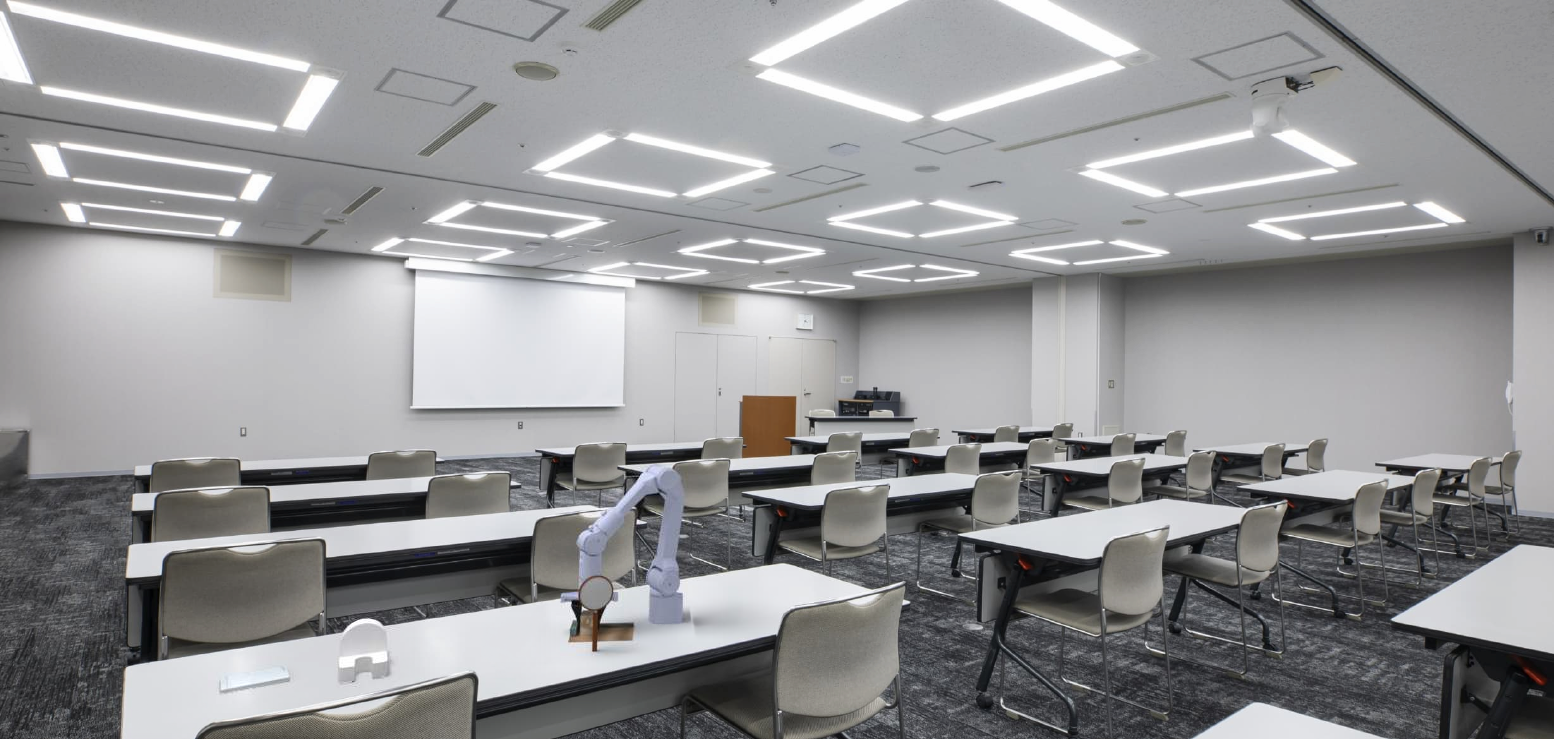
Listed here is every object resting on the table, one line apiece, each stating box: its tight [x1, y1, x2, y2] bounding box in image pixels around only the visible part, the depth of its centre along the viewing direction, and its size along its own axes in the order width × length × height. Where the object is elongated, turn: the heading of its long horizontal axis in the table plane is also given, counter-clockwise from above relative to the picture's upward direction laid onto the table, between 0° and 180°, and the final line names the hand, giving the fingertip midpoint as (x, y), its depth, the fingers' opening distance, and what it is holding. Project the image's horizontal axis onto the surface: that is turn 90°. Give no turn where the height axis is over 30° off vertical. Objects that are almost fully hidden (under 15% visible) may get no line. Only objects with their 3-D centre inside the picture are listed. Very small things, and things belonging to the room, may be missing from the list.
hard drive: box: [219, 665, 291, 694], centre depth 169 cm, size 2×8×12 cm
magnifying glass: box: [577, 574, 614, 653], centre depth 188 cm, size 9×2×20 cm, turn 117°
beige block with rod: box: [580, 609, 594, 636], centre depth 200 cm, size 4×10×5 cm, turn 9°
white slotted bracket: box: [338, 618, 389, 683], centre depth 179 cm, size 10×18×11 cm, turn 28°
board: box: [567, 619, 635, 643], centre depth 200 cm, size 16×11×4 cm
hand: (588, 628), depth 201 cm, fingers closed on beige block with rod, 4 cm apart
